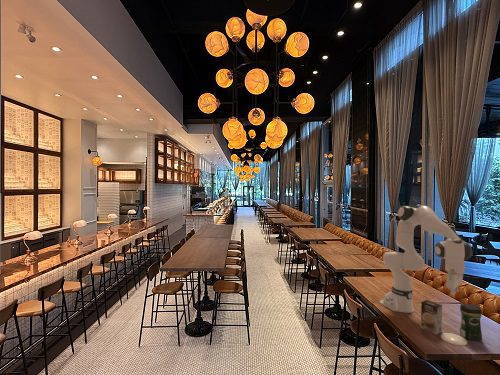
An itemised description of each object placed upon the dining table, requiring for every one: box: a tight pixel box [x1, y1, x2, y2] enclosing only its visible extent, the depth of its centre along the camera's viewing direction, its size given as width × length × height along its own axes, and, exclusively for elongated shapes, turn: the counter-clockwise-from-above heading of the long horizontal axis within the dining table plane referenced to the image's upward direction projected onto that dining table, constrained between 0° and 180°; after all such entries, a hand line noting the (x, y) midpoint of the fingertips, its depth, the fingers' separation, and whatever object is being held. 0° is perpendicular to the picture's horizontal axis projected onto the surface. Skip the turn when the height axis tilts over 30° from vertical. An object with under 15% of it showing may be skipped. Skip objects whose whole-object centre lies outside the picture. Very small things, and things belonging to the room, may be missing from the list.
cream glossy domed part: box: [440, 332, 468, 347], centre depth 159 cm, size 12×12×1 cm
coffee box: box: [420, 299, 443, 335], centre depth 171 cm, size 9×6×16 cm
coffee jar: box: [459, 303, 483, 341], centre depth 163 cm, size 10×8×19 cm
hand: (454, 293), depth 159 cm, fingers open, 6 cm apart
